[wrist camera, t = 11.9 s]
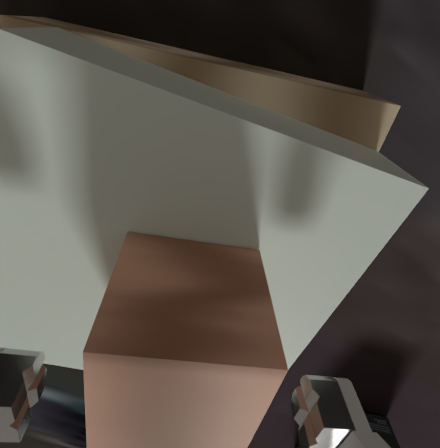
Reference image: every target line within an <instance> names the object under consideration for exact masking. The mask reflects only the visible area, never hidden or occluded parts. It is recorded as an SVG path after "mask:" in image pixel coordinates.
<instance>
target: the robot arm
mask: <svg viewBox="0 0 440 448" xmlns="http://www.w3.org/2000/svg"><path fill="white" fill-rule="evenodd" d="M44 360H45V356H44V352H42V351H31V350H21V349H10V348H3V347H0V442H20V441H21V439H22V437H23V435H24V432H25V430H26V428H27V426H28V424H29V421H30V419H31V412H30V407H32V406H33V405H34V404H35V403H37V402H38V401H39V399H40V396H41V394H42V392H43V389H44V385H45V382H46V375H47V371H46V367H45V366H44V365H42V364H43V362H44ZM300 383H301V386H299V387H297V388H295V390H294V392H293V394H292V402H291V405H292V413H293V417H294V419H295V421H296V422H297V423H298V424H299V426H300V427H299V430H298V432H297V435H298V440H299V444H300V448H391V447H390V446H389V445H388V444H387V443H386V442H385V441H384V440H383V439H382V438H381V437H380V436H379V434H378V433H377V432H372V430H371V428H370V425H369V423H368V420H367V418H366V416H365V413H364V411H363V408H362V406H361V404H360V401H359V399H358V397H357V394H356V392H355V389H354V387H353V385H352V382H351V381H350V380H349V379H346V378H336V377H328V376H313V375H304V376H302V378H301V380H300Z"/></svg>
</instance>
